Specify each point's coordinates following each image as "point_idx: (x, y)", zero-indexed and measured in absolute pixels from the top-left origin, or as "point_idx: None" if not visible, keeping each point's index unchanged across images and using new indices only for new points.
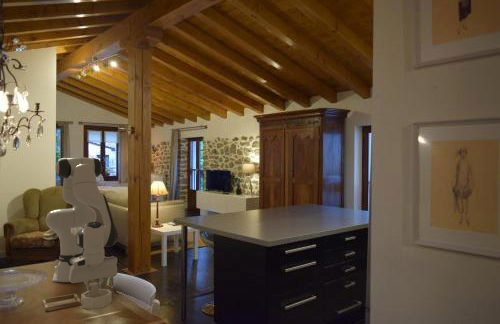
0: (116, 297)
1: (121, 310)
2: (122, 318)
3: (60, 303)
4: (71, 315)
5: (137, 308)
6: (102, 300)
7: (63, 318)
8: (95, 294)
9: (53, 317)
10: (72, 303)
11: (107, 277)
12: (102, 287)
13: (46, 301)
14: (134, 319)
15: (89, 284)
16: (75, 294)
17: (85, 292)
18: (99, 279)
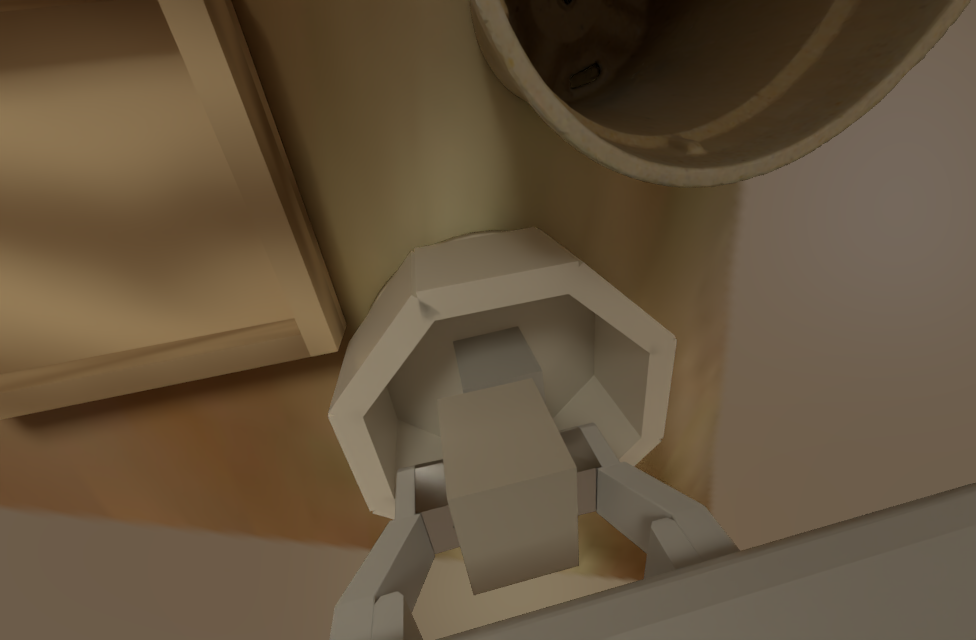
0: (692, 229)
1: None
2: (589, 567)
3: (47, 206)
4: (296, 492)
5: (703, 482)
6: None
7: (244, 523)
8: (505, 383)
9: (145, 497)
10: (248, 364)
11: (924, 43)
12: (652, 114)
13: None
14: (631, 580)
15: (447, 490)
16: (194, 18)
17: (382, 358)
18: (651, 535)
